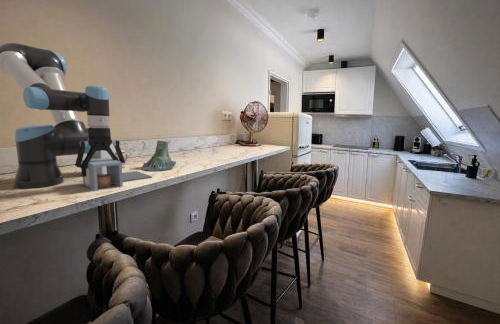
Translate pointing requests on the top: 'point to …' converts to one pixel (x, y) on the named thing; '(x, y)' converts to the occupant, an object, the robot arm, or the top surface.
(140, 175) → the mat
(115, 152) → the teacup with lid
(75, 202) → the top surface
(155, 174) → the top surface
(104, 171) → the supplement box
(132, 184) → the top surface
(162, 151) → the tree stump
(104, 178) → the bowl
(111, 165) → the blue-grey hollow block
